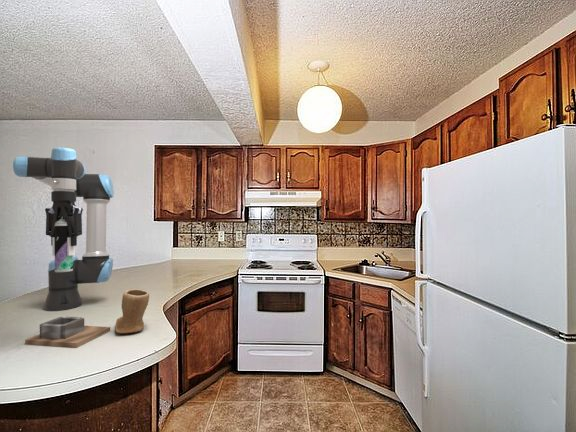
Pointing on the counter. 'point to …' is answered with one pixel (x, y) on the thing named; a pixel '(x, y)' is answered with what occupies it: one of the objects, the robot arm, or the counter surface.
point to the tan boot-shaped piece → (132, 311)
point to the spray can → (62, 247)
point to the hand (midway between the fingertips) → (63, 255)
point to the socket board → (72, 339)
